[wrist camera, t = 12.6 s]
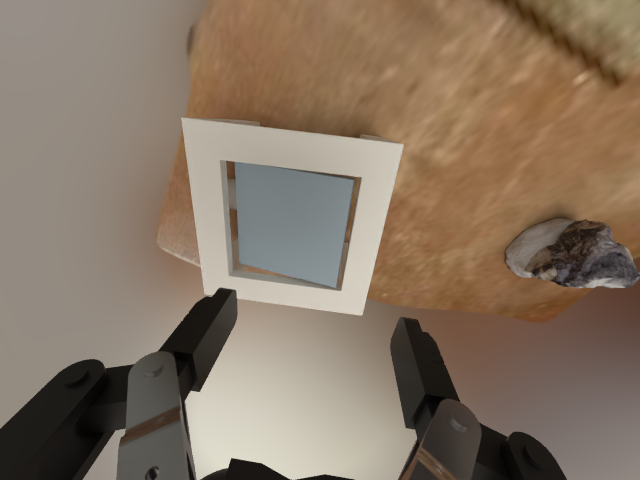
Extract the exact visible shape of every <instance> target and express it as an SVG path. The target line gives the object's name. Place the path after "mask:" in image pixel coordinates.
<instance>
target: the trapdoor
mask: <svg viewBox="0 0 640 480" xmlns="http://www.w3.org/2000/svg"><path fill="white" fill-rule="evenodd" d="M235 179H236V199H237V220H238V241H239V262H240V264H244V265H248V266H252V267H256V268H260V269H264V270H268V271H272V272H275V273H279V274H283V275H287V276H291V277H295V278H299V279H303V280H307V281H311V282H314V283H318V284H322V285H326V286H330V287H334V288H336V286H337V282H338V276H339V270H340V264H341V259H342V253H343V247H344V241H345V235H346V229H347V223H348V217H349V211H350V206H351V200H352V194H353V188H354V182H355V178H349V177H342V176H336V175H330V174H324V173H318V172H312V171H306V170H298V169H290V168H282V167H274V166H266V165H258V164H250V163H242V162H235Z"/></svg>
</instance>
